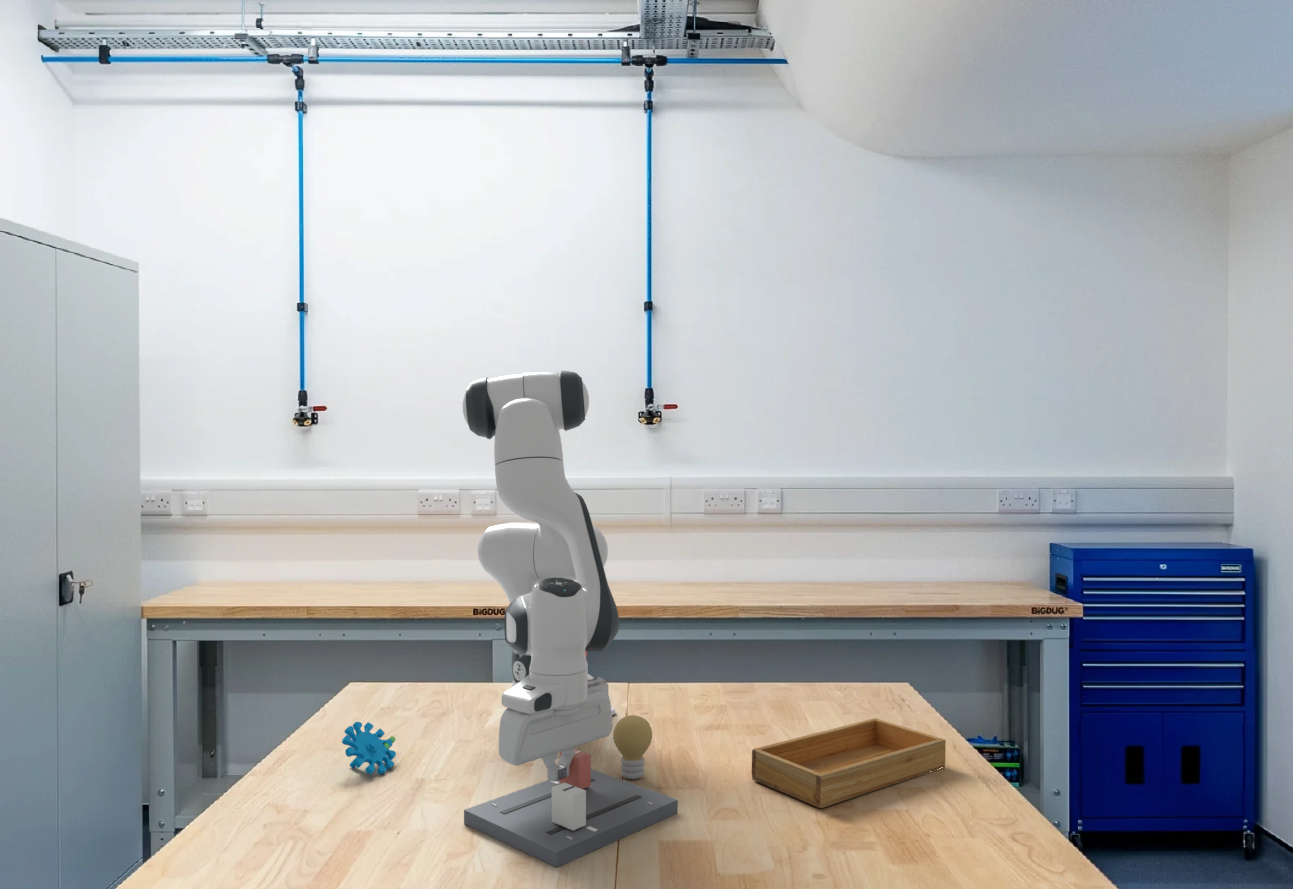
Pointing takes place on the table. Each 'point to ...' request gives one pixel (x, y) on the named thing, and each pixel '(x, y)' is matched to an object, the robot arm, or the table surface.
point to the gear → (369, 748)
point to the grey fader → (568, 806)
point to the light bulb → (632, 744)
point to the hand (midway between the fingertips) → (558, 778)
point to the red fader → (579, 770)
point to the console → (532, 831)
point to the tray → (847, 761)
